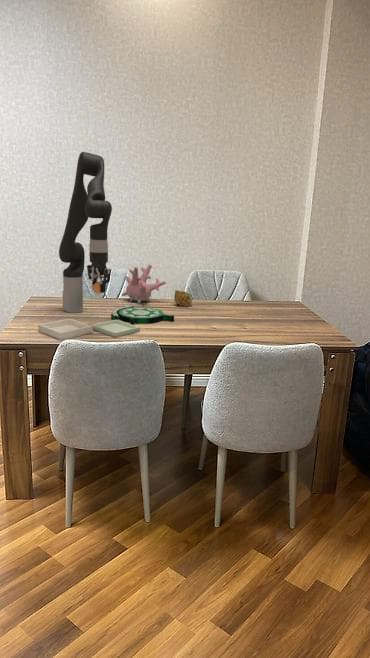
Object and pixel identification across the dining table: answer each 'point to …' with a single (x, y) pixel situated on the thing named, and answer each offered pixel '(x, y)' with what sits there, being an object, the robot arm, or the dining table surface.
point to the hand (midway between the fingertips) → (98, 291)
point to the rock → (182, 298)
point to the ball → (97, 287)
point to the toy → (140, 285)
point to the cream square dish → (65, 329)
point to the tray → (115, 328)
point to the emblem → (140, 315)
